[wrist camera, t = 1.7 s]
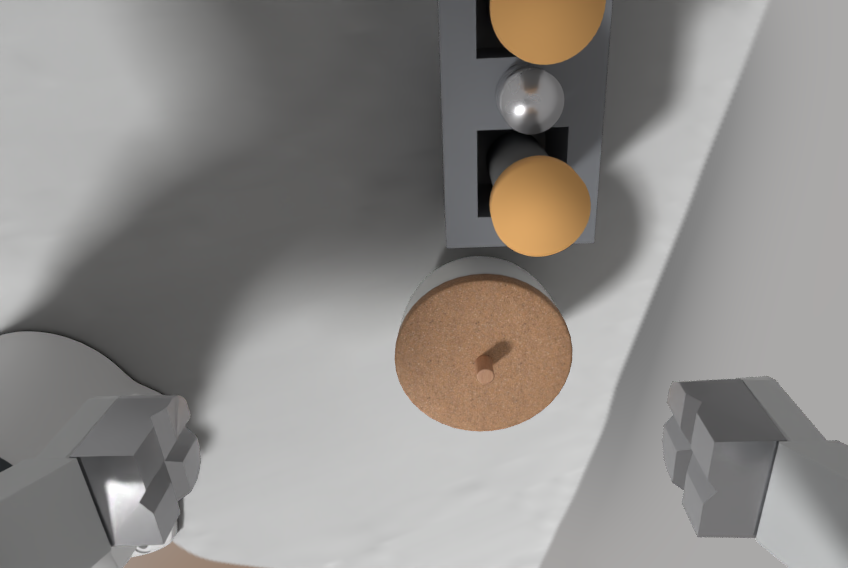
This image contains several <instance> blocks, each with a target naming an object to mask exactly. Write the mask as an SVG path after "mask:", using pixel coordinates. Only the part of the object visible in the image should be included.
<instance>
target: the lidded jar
mask: <svg viewBox="0 0 848 568" xmlns="http://www.w3.org/2000/svg"><path fill="white" fill-rule="evenodd" d="M571 363H572V343H571V337H570V334H569V331H568V328H567V325H566V323H565V320H564V319H563V317H562V315H561V314H560V312H559V310H558V308H557V307H556V305H555V303H554V302H553V300H552V298H551V297H550V295H549V293H548V292H547V291H546V290H545V288H544V287H543V286H542V285H541V284H540V283H539V281H538V280H537V279H535V278H534V277H533V276H532V275H531V274H529V273H528V272H527V271H526V270H524V269H523V268H521V267H519V266H518V265H516V264H514V263H511V262H509V261H506V260H503V259H499V258H495V257H487V256H472V257H465V258H461V259H457V260H454V261H452V262H449V263H447V264H445V265H443V266H441V267H439V268H437V269H436V270H434V271H433V272H432V273H431V274H429V275H428V276H427V277H426V278H425V279H424V280H423V281H422V282H421V283H420V284H419V286H418V287H417V289H416V290H415V291H414V293H413V294H412V296H411V297H410V299H409V302H408V304H407V306H406V308H405V311H404V313H403V317H402V321H401V325H400V329H399V333H398V337H397V341H396V348H395V365H396V372H397V375H398V379H399V382H400V384H401V386H402V388H403V390H404V392H405V393H406V395H407V396H408V397H409V399H410V400H411V401H412V403H413V404H415V405H416V406H417V407H418V408H419V409H420V410H421V411H422V412H424V413H425V414H426V415H428V416H429V417H431V418H432V419H434V420H436V421H438V422H440V423H442V424H445V425H448V426H451V427H454V428H458V429H463V430H470V431H493V430H499V429H505V428H508V427H511V426H514V425H517V424H520V423H522V422H524V421H526V420H528V419H530V418H532V417H533V416H535V415H536V414H538V413H539V412H541V411H542V410H543V409H544V408H546V407H547V406H548V405H549V404H550V403H551V402H552V401H553V400H554V398H555V397H556V396H557V395H558V394H559V392H560V391H561V389H562V387H563V386H564V384H565V382H566V379H567V377H568V375H569V372H570V367H571Z"/></svg>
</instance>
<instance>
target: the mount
mask: <svg viewBox="0 0 848 568" xmlns="http://www.w3.org/2000/svg"><path fill="white" fill-rule="evenodd" d="M612 3H613V0H606V4H605V11H604V15H603V19H602V21H601V24H600V27H599V28H598V30H597V32H596V34H595V35H594V37H593V38H592V40H591V41H590V42H589V43H588V45H587V46H586V47H585V48H584V49H583V50H581V51H580V52H579V53H577V54H576V55H575V56H573V57H571V58H569V59H568V60H565V61H562V62H559V63H555V64H549V65H539V64H533V63H530V62H526V61H524V60H522V59H520V58H518V57H517V56H515V55H514V54H512V53H511V52H509V51H508V50H507V49H506V48H505V47H504V46H503V45H502V43H501V42H500V41H499V39H498V38H497V36H496V34H495V32H494V30H493V26H492V24H491V23H490V21H489V18H488V15H487V11H486V0H438V25H439V57H440V88H441V120H442V151H443V183H444V210H445V227H446V244H447V248H471V247H498V246H507V245H505V244H504V243H503V241H502V240H501V239H500V238H499V236H498V235H497V233H496V231H495V228H494V225H493V222H492V218H491V214H490V207H489V202H490V195H491V191H492V188H493V185H492V181H491V178H490V175H489V172H488V169H487V165H486V157H487V153H488V150H489V148H490V146H491V144H492V143H493V142H494V141H495V140H496V139H497V138H498V137H499V136H501V135H503V134H505V133H508V132H512V131H516V130H514V129H513V128H512V127H510V126H509V124H508V123H507V122H506V120H505V119H504V117H503V115H502V114H501V112H500V110H499V109H498V107H497V104H496V100H495V90H496V86H497V83H498V81H499V79H500V77H501V76H502V75H503V73H504V72H505V71H506V70H508V69H509V68H511V67H513V66H515V65H518V64H523V63H529V64H533V65H536V66H538V67H540V68H542V69H543V70H545V71H546V72H548V73H550V74H551V75H552V76H554V77H555V78H556V79H557V80H558V82H559V83H560V85H561V87H562V89H563V93H564V107H563V111H562V113H561V115H560V117H559V119H558V120H557V122H556V123H555V124H554V125H553V126H552V127H551V128H549V129H548V130H546V131H544V132H541V133H538V134H530V135H531V136H533V137H534V138H535V139H536V140H537V141H538V142H539V144H540V145H541V146H542V148H543V149H544V150H545V152H546V153H547V154H548V156H550V157H554V158H557V159H559V160H561V161H563V162H565V163H566V164H568V165H569V166H570V167H571V168H573V170H574V171H575V172H576V173H577V174H578V176H579V177H580V178H581V179H582V180H583V182H584V183H585V185H586V187H587V189H588V192H589V195H590V201H591V211H590V217H589V220H588V223H587V225H586V227H585V229H584V231H583V233H582V234H581V235H580V237H579V238H578V239H577V240H576V241H575V242H574V243H573V244H579V243H594V237H595V224H596V211H597V198H598V185H599V172H600V159H601V146H602V133H603V120H604V107H605V94H606V81H607V68H608V55H609V42H610V29H611V16H612Z"/></svg>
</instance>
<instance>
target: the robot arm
mask: <svg viewBox="0 0 848 568" xmlns="http://www.w3.org/2000/svg"><path fill="white" fill-rule="evenodd" d="M667 404H668V406H669V408H670V409H671V411H672V413H673V416H672V417H671V418H670V419H669V420H668V421H667V422H666V423H665V424H664V429H663V439H662V443H663V455H664V461H665V464H666V468H667V471H668V473H669V476H670V478H671V481H672V482H673V483H674V484H675V485H677V486H678V487H680V488H681V489H683V490H684V493H683V499H682V505H683V507H684V509H685V511H686V514H687V515H688V518H689V520H690V522H691V524H692V526H693V529H694V531H695V532H696V535H697V537H735V538H736V537H737V538H738V537H739V538H756V540H755V541H757V542H758V543H759V544H760V545H761V546H763V547H764V548H765V549H766V550H768V551H769V552H770V553H771V554H772V555H774V556H775V557H776V558H777V559H778V560H780V561H781V562H782V563H783V564H784V565H785V566H787V567H788V568H848V445H846V444H844V443H841V442H840V441H837V440H835V441H834V440H832V441H827V440H826V439H825V438H824V437H823V435H822V434H821V433H820V432H819V431H818V430H817V428H816V427H815V426H814V425H813V424H812V422H811V421H810V420H809V419H808V418H807V417H806V416H805V414H804V413H803V412H802V411H801V410H800V408H799V407H798V406H797V405H796V404H795V403H794V401H793V400H792V399H791V398H790V397H789V395H788V394H787V393H786V392H785V391H784V390H783V388H782V387H781V386H780V385H779V384H778V382H776V380H775V379H773V378H771V377H768V376H764V377H747V378H736V379H721V380H697V381H673V382H672V383H671V386H670V388H669V392H668V399H667ZM190 417H191V413H190V410H189V407H188V404H187V401H186V399H185V398H183V397H182V396H180V395H162V394H160V393H158V392H156V391H154V390H152V389H150V388H148V387H145V386H143V385H141V384H138V383H137V382H135V381H134V380H132V379H131V378H130V377H129V376H128V375H126V374H125V373H124V372H123V371H122V370H121V369H120V368H119V367H118V366H117V365H115V364H114V363H113V362H112V361H110V360H109V359H108V358H106V357H105V356H104V355H102V354H101V353H99V352H97V351H96V350H94V349H92V348H90V347H88V346H86V345H84V344H82V343H80V342H78V341H75V340H72V339H70V338H67V337H63V336H60V335H55V334H50V333H44V332H33V331H23V332H13V333H8V334H3V335H0V568H123V567H124V566H125V564H126V563H127V562H128V560H129V559H130V557H135V556H140V555H144V554H148V553H151V552H153V551H157V550H159V549H161V548H163V547H165V546H166V545H168V544H170V543H171V542H172V540H173V539H174V537H175V536H176V534H177V518H178V517H179V515H180V513H181V512H180V508H179V505H178V501H179V500H181V499H182V498H183V497H185V496H186V495H187V494H189V493H190V492H191V491H192V489H193V487H194V485H195V483H196V481H197V479H198V474H199V469H200V463H201V456H200V446H199V442H198V438H197V436H196V435H195V434H194V433H193V432H192V431H190V430H189V429H188V428H187V427H186V426H185V425H186V424H187V422H188V420H189V418H190Z"/></svg>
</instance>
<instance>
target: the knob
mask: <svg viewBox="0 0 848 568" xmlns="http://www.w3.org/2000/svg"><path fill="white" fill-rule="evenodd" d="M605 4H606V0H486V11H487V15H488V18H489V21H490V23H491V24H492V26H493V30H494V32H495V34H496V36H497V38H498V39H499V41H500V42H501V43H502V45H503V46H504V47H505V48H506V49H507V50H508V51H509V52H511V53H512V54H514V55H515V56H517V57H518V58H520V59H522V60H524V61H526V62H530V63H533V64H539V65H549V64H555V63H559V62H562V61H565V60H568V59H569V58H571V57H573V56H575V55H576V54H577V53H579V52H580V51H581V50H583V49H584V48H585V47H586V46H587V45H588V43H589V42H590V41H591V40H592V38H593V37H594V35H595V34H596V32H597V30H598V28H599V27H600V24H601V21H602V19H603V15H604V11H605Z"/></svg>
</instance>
